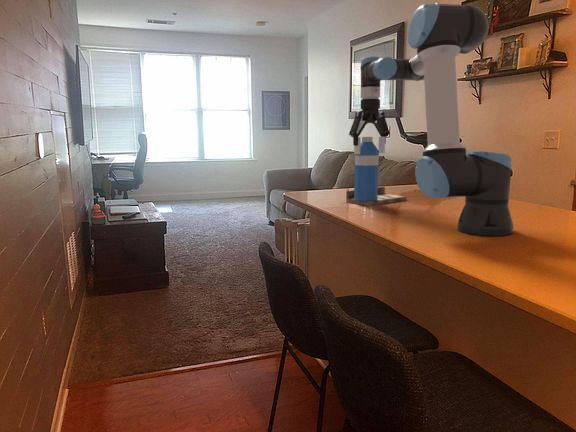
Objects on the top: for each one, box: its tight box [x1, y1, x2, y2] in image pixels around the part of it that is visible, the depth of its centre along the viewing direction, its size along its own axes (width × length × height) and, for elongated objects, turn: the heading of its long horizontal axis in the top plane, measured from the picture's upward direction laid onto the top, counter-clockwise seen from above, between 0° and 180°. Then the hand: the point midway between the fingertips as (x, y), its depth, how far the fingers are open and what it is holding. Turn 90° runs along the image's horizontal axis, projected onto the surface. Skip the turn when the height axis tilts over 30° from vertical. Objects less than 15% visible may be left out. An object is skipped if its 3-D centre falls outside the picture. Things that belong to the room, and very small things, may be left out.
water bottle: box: [353, 136, 380, 201], centre depth 181 cm, size 9×9×25 cm
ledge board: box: [345, 186, 408, 207], centre depth 189 cm, size 22×13×5 cm, turn 125°
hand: (369, 153), depth 181 cm, fingers open, 13 cm apart
